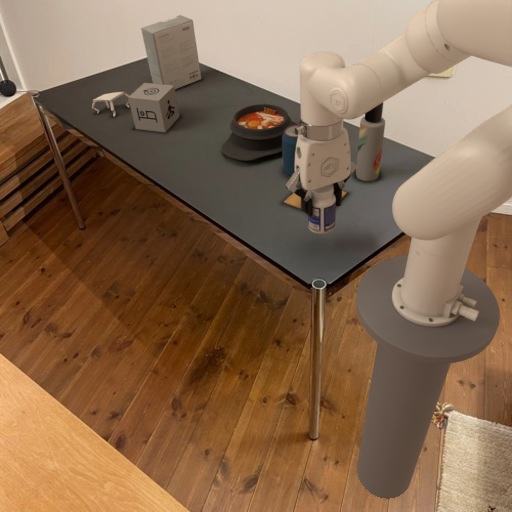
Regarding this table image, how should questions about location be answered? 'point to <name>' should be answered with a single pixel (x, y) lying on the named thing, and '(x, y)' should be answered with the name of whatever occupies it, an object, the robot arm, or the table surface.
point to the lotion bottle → (370, 144)
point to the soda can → (289, 149)
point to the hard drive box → (172, 52)
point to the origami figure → (109, 100)
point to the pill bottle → (323, 210)
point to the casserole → (256, 132)
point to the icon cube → (154, 107)
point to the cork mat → (299, 200)
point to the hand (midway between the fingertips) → (321, 207)
